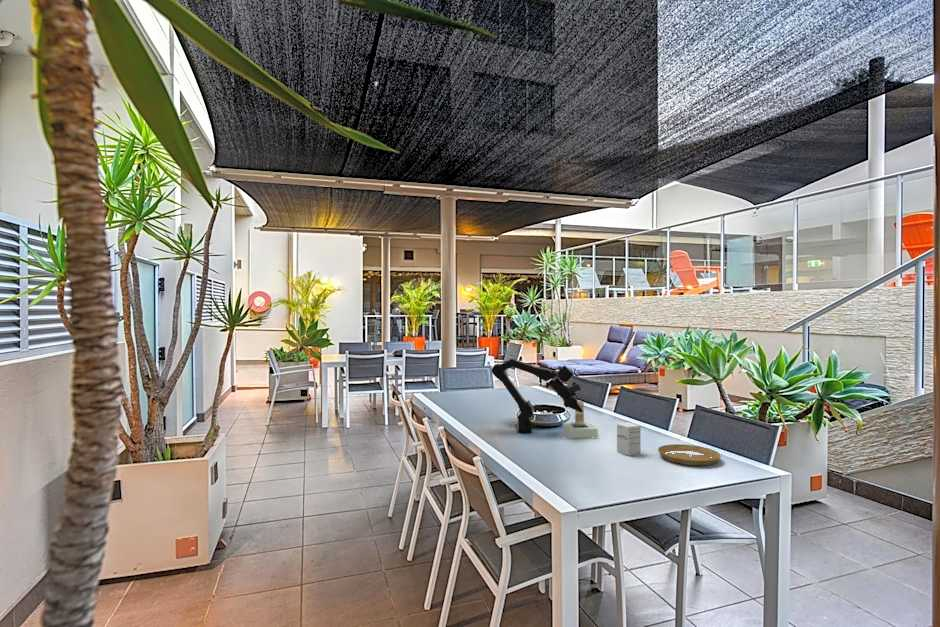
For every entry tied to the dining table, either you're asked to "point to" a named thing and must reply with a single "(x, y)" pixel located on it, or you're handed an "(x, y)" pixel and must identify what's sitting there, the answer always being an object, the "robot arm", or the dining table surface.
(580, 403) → the maple block
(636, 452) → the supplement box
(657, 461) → the dining table surface
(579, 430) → the slot box
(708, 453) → the plant saucer
